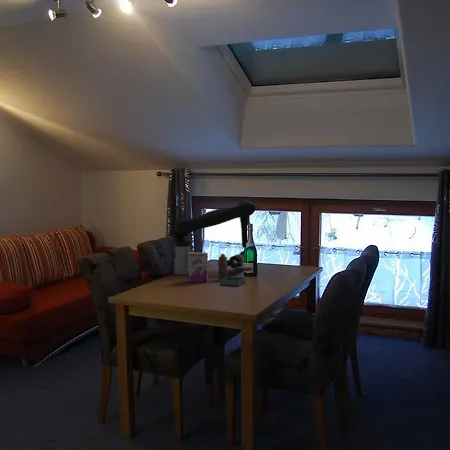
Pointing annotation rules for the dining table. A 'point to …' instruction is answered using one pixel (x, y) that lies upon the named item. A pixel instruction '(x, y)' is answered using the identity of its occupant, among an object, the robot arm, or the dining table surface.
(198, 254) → the candy bar box
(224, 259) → the pepper mill
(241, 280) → the tray
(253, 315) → the dining table surface
